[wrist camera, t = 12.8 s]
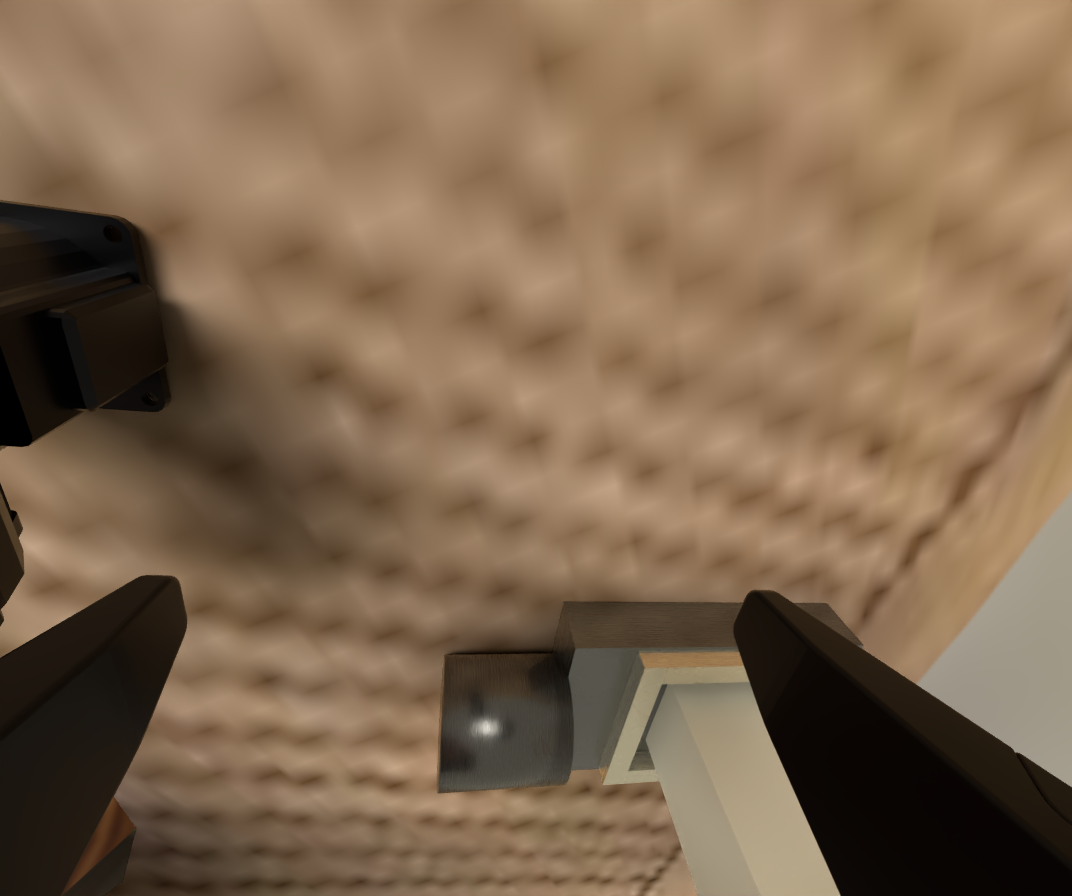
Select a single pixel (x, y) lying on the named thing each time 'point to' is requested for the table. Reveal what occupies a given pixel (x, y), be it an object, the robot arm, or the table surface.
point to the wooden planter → (104, 855)
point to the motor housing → (583, 693)
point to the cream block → (732, 796)
